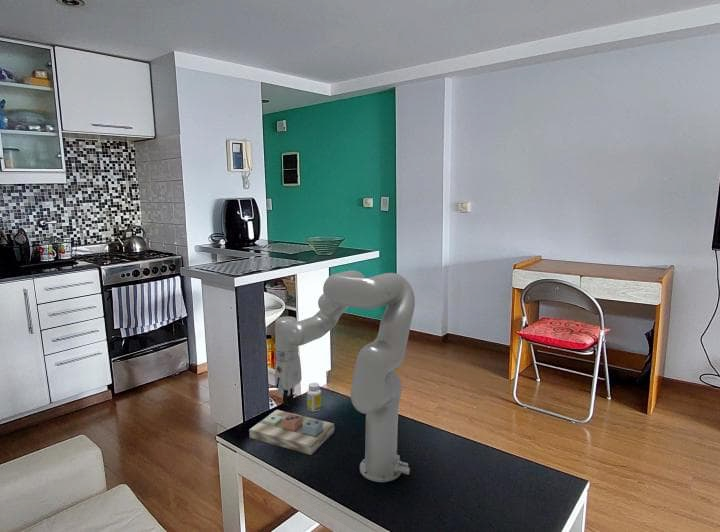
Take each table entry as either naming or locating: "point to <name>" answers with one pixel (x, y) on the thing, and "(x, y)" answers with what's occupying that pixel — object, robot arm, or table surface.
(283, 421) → the key three dots
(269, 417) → the key one dot
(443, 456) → the table surface
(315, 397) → the supplement bottle
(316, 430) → the key two dots
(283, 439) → the key panel
